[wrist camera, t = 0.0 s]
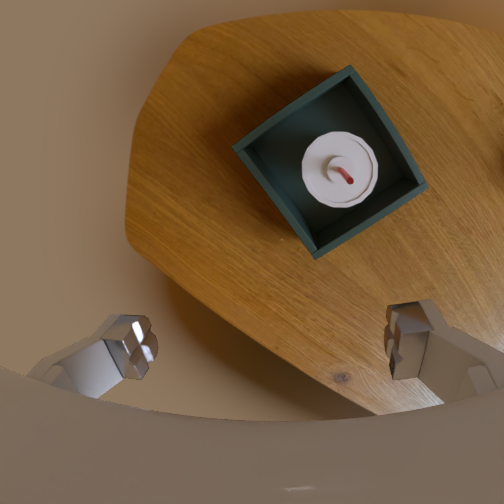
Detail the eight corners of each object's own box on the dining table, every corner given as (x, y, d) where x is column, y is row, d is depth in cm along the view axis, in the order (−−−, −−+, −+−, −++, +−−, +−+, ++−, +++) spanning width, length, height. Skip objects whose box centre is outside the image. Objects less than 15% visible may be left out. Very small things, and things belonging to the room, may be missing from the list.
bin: (241, 144, 31) (230, 147, 27) (343, 74, 27) (350, 64, 22) (313, 241, 34) (315, 260, 30) (411, 178, 30) (429, 188, 25)
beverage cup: (363, 137, 29) (405, 145, 16) (352, 192, 31) (383, 236, 19) (306, 125, 29) (309, 122, 17) (297, 181, 32) (293, 218, 19)
